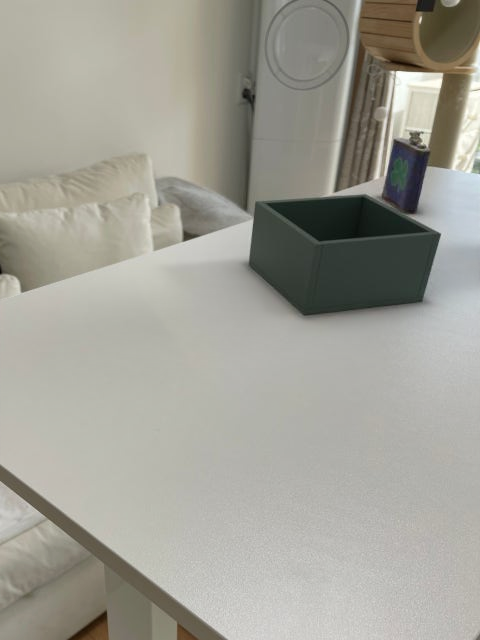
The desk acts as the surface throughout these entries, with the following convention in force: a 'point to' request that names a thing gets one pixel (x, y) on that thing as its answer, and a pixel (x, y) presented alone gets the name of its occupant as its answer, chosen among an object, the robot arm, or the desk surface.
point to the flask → (406, 172)
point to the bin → (341, 252)
